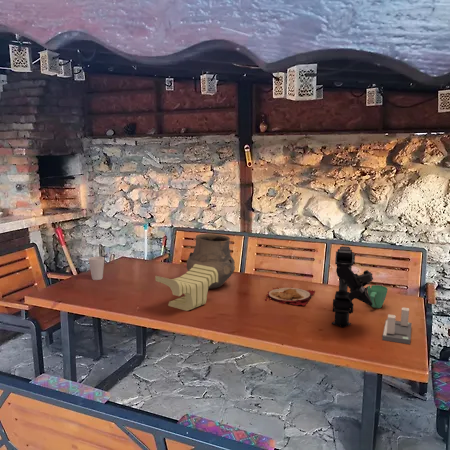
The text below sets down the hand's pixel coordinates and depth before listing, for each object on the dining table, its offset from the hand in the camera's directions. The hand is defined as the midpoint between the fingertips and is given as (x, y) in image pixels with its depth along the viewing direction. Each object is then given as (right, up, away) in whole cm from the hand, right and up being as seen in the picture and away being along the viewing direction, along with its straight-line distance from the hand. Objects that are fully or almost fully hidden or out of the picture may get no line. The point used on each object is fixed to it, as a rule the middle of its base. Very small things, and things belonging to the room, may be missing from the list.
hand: (371, 305), depth 198 cm
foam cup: (-143, +1, +87) cm, 167 cm away
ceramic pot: (-72, -1, +72) cm, 102 cm away
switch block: (+12, -13, +3) cm, 18 cm away
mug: (+13, -8, +35) cm, 38 cm away
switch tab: (+17, -10, +7) cm, 21 cm away
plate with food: (-29, -5, +53) cm, 60 cm away
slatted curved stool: (-83, -7, +38) cm, 91 cm away
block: (+7, -11, -2) cm, 14 cm away
